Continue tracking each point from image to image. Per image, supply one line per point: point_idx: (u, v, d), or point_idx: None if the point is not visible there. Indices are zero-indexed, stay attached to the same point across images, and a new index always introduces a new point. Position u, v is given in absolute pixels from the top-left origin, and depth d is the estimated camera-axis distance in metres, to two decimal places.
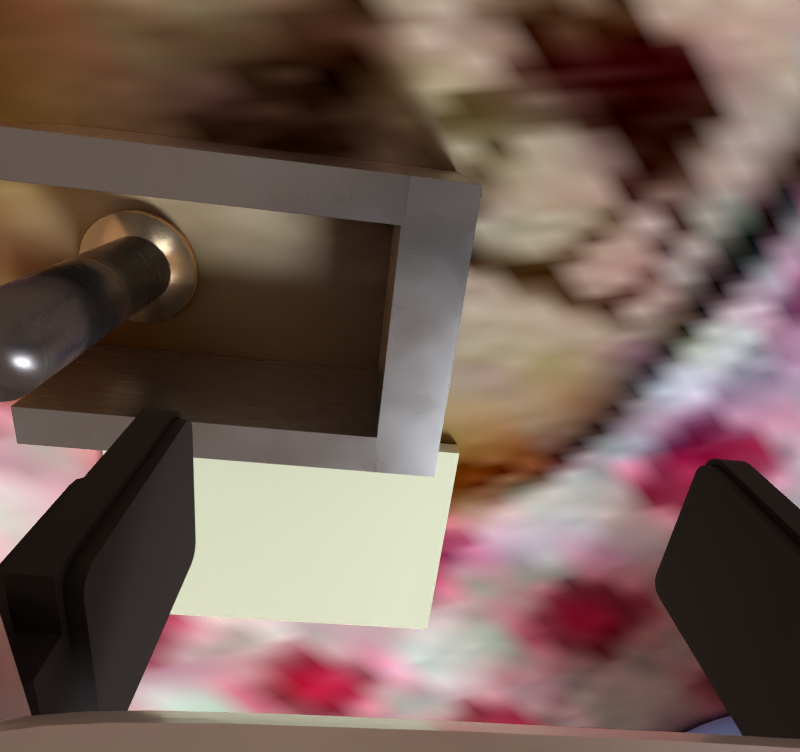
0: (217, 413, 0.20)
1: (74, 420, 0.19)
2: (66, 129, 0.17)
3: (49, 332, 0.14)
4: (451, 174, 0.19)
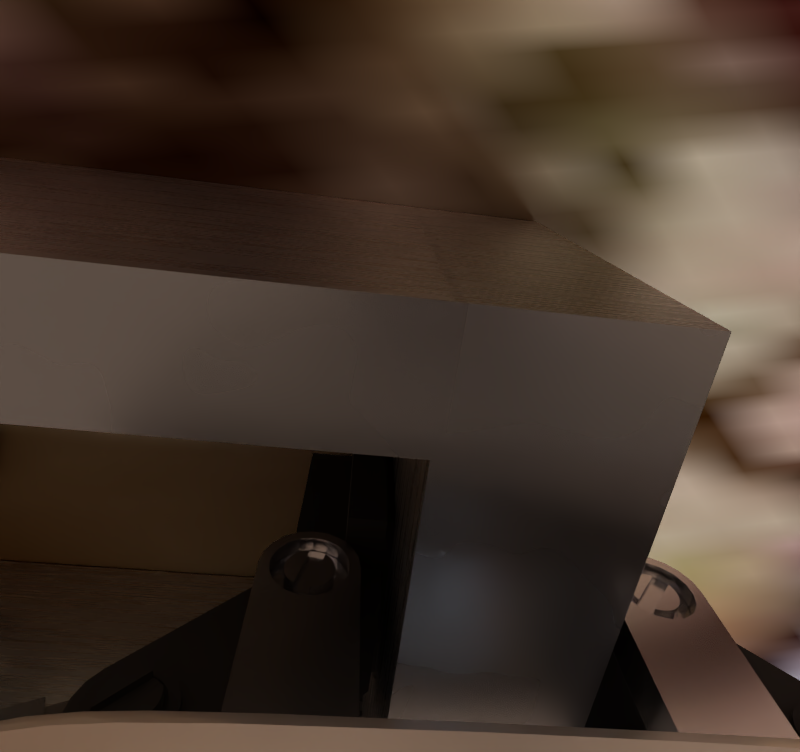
0: None
1: None
2: None
3: None
4: (549, 245, 0.07)
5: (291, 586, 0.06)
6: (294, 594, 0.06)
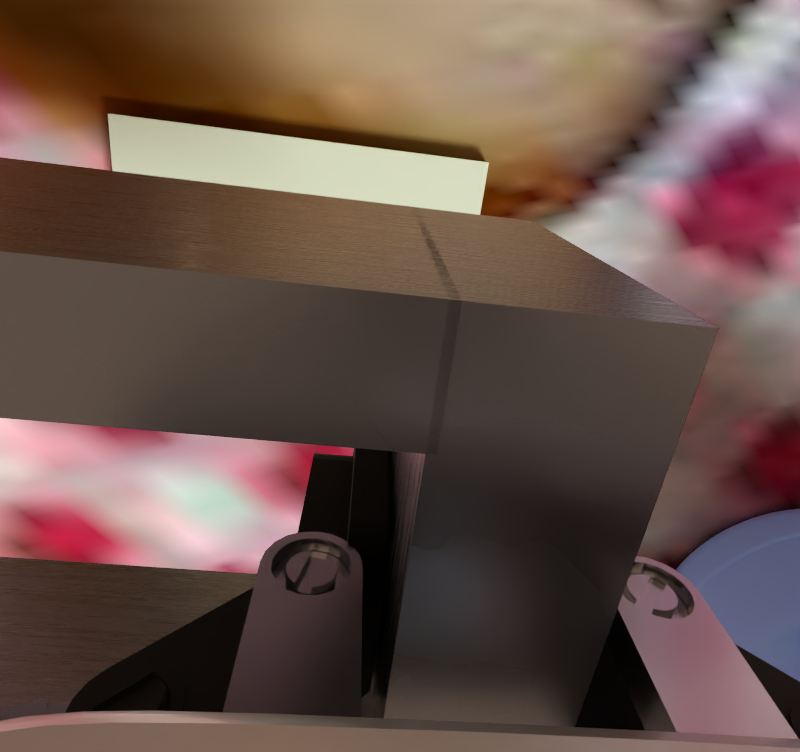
0: None
1: None
2: None
3: None
4: (544, 244, 0.08)
5: (293, 586, 0.06)
6: (296, 594, 0.06)
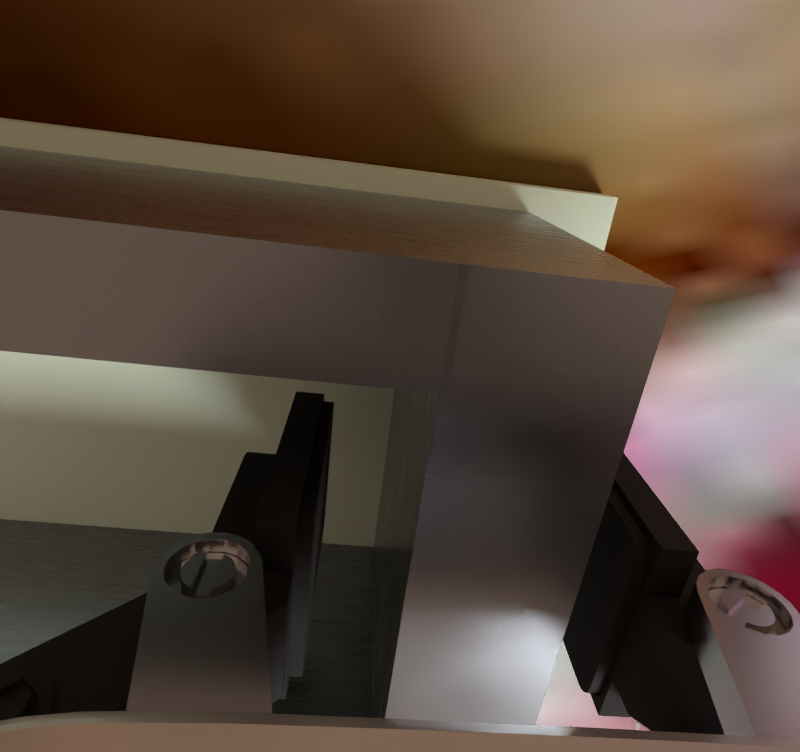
0: None
1: None
2: None
3: None
4: (538, 229, 0.09)
5: (190, 591, 0.06)
6: (194, 599, 0.06)
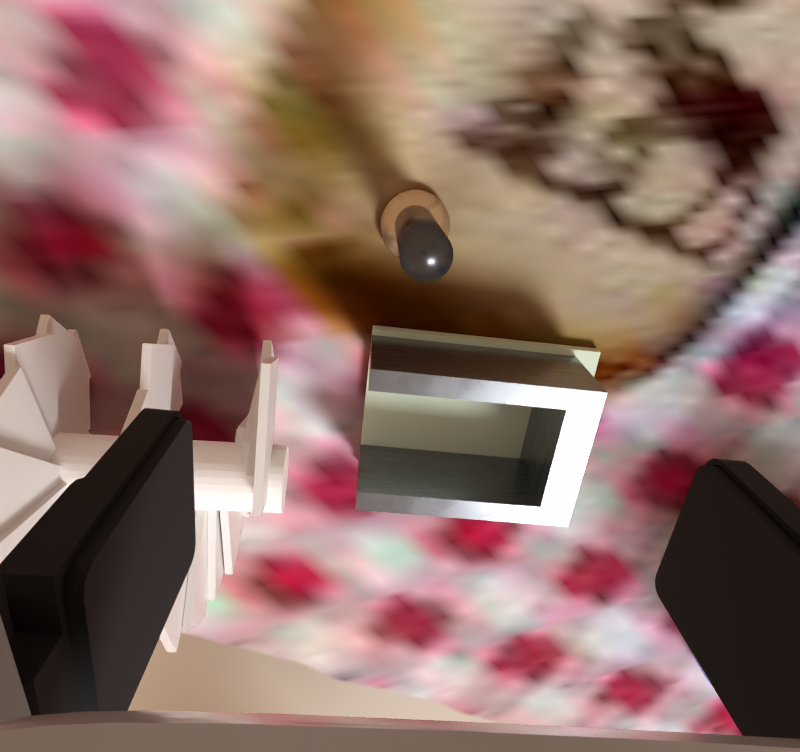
0: (455, 493, 0.37)
1: (387, 498, 0.36)
2: (396, 356, 0.35)
3: None
4: (580, 370, 0.37)
5: None
6: None
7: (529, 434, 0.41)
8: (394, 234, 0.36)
